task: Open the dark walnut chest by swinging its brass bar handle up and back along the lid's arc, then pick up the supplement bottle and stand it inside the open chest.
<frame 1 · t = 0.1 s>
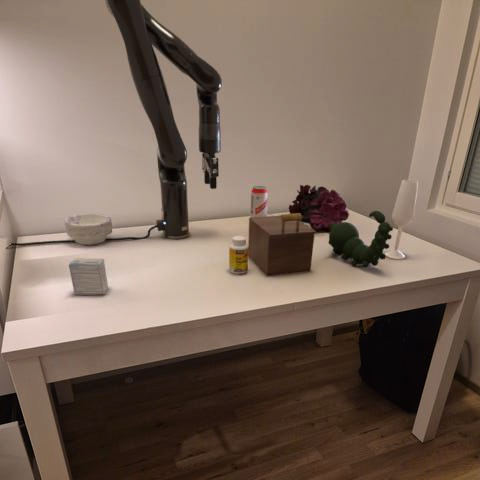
hand: (210, 186, 150), 17 cm above the table, tool pointing down, fingers open, 8 cm apart
champagne flute: (394, 255, 141), on the table
chest: (278, 263, 132), on the table
lid: (281, 217, 125), point 15 cm above the table, hinge at 0.0°
supplement bottle: (238, 271, 126), on the table
white stone bowl: (91, 241, 148), on the table
toy figurine: (351, 261, 135), on the table
beer can: (257, 229, 164), on the table
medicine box: (91, 292, 111), on the table
flower arrangement: (319, 223, 174), on the table
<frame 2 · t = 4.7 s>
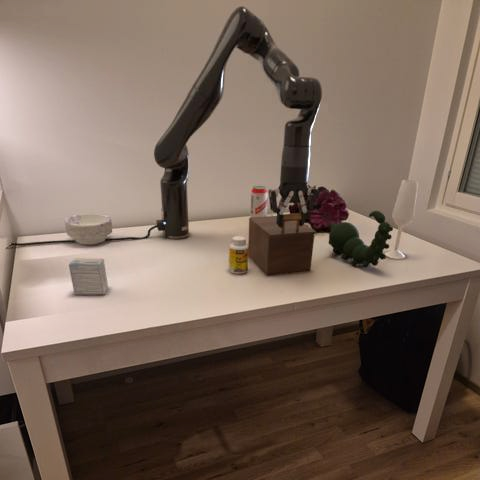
hand: (290, 225, 119), 14 cm above the table, tool pointing down, fingers closed on lid, 5 cm apart
lid: (281, 217, 125), point 15 cm above the table, hinge at -0.1°, touching gripper
everything else where it was.
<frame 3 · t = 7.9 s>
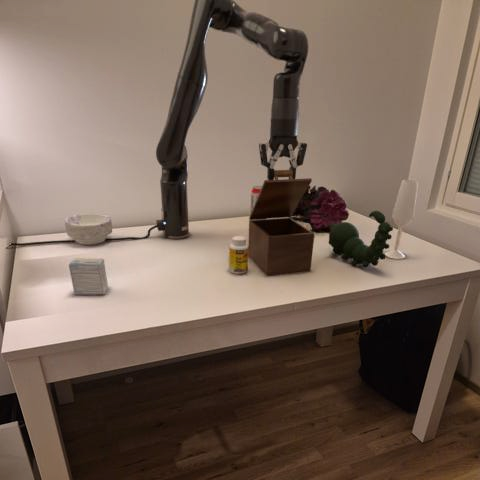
hand: (281, 181, 121), 25 cm above the table, tool pointing down, fingers closed on lid, 5 cm apart
lid: (276, 193, 126), point 21 cm above the table, hinge at 47.6°, touching gripper
everything else where it was.
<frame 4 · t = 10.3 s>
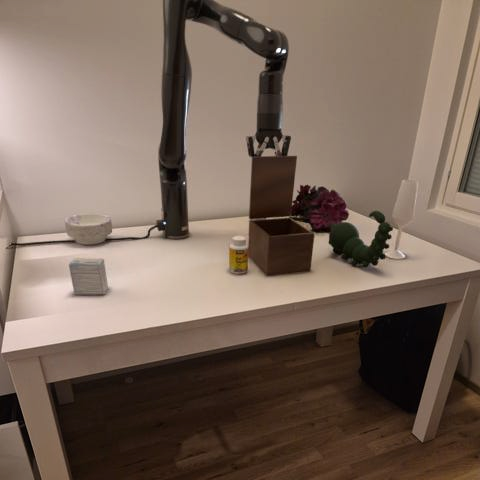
hand: (267, 171, 131), 26 cm above the table, tool pointing down, fingers closed on lid, 5 cm apart
lid: (269, 186, 130), point 22 cm above the table, hinge at 86.4°, touching gripper
everything else where it was.
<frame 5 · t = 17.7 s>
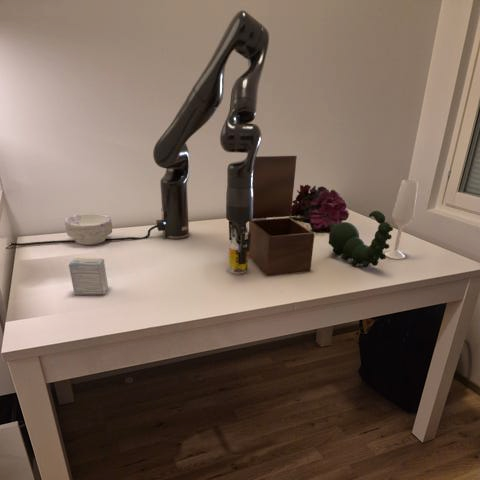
hand: (238, 259, 124), 4 cm above the table, tool pointing down, fingers closed on supplement bottle, 5 cm apart
lid: (269, 186, 131), point 22 cm above the table, hinge at 86.9°
supplement bottle: (238, 271, 126), on the table, touching gripper
everything else where it was.
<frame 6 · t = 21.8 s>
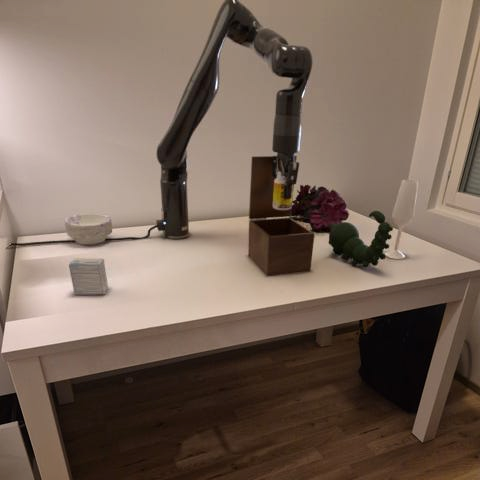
hand: (282, 196, 121), 21 cm above the table, tool pointing down, fingers closed on supplement bottle, 5 cm apart
supplement bottle: (281, 209, 123), point 17 cm above the table, touching gripper
everything else where it was.
when the fingers open (4 cm above the table, at t = 26.0 s): supplement bottle stays where it is, resting on chest.
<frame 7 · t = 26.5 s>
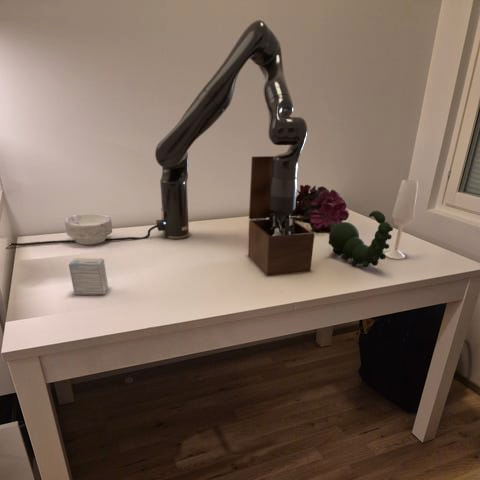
hand: (279, 247, 129), 6 cm above the table, tool pointing down, fingers open, 8 cm apart
supplement bottle: (278, 261, 131), point 1 cm above the table, touching chest
everything else where it was.
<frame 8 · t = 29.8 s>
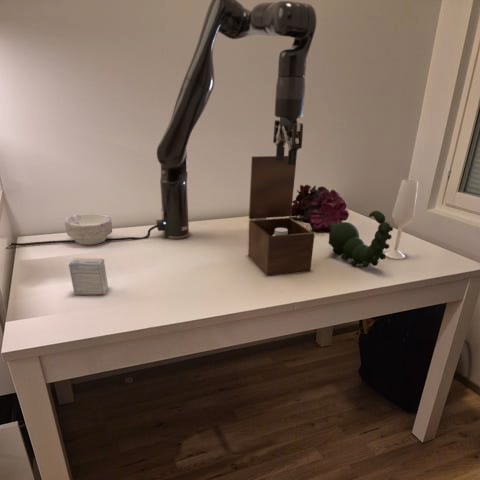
hand: (285, 162, 117), 30 cm above the table, tool pointing down, fingers open, 8 cm apart
nothing on the table moved.
at the end: lid at +87° (first picture: +0°); supplement bottle inside the target area in the chest (0.5 cm from its centre), point 0.6 cm above the chest's base; supplement bottle tilted 0° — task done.
